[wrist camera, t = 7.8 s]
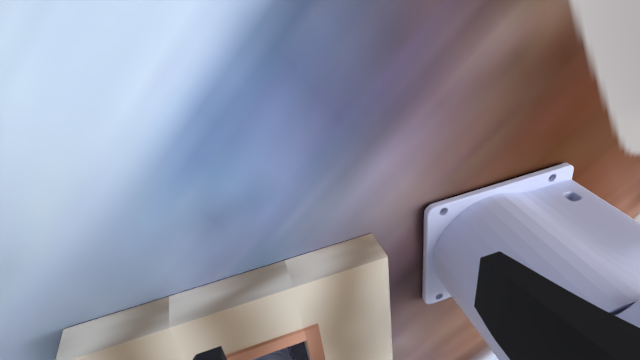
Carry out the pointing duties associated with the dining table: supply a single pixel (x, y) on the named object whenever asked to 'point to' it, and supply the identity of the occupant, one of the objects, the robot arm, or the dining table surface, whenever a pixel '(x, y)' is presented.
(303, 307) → the hole plate
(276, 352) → the knob
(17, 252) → the dining table surface
